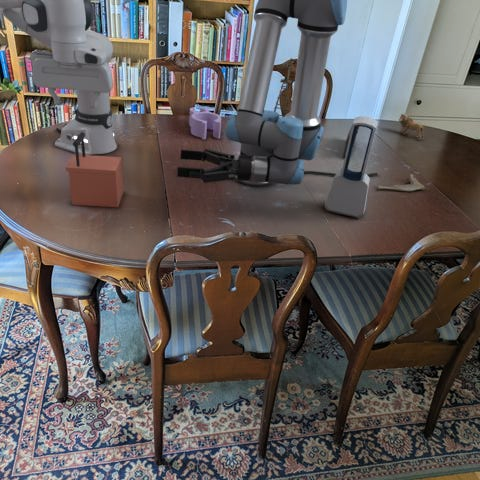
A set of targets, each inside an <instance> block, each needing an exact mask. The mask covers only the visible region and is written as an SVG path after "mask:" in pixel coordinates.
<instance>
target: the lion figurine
mask: <svg viewBox="0 0 480 480" xmlns="http://www.w3.org/2000/svg"><path fill="white" fill-rule="evenodd" d="M398 123H400V125H401V127H402V128H404V129H403V132H402V135H404V136H405V135H406V134H407V133H408V132H406V131H409V130H411V131H415V132H416V134H417V135H418V136H417V135H415V137H416V138H417V141H420V140H421V139H423V138H425V136H424V125H423V124H422V123H419V122H415V121H414V120H413V119H412V118H411V117H410V116H409V115H408V114H406V113H402V114H401V113H400V116H399V119H398ZM404 132H405V133H404ZM419 138H421V139H419Z"/></svg>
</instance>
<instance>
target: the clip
mask: <svg viewBox="0 0 480 480" xmlns="http://www.w3.org/2000/svg"><path fill="white" fill-rule="evenodd" d="M188 119H189V120H188V121H189V122H188V125H189V127H190V134H191V135H193V136H195V137H197V138H201V140H206V139H207V130H211V131H213V132H212V137H213V138H215V139H218V140H219V139H221V131H222V116H221V115H219V114H217V113H215V112H211V111H210V109H209V108H206V107H203V106H200V107H199V111H196V108H195V107H190V108H189V118H188Z"/></svg>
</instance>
